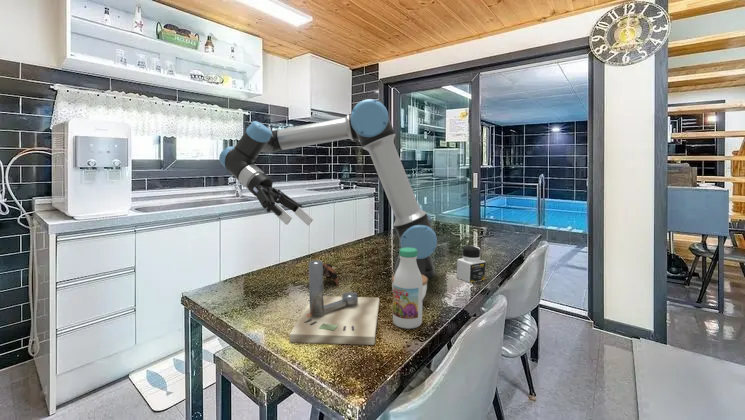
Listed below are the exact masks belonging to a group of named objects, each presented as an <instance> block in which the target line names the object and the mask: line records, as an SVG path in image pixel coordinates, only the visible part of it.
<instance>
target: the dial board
mask: <svg viewBox="0 0 745 420" xmlns="http://www.w3.org/2000/svg"><path fill="white" fill-rule="evenodd" d="M323 298H324V305H327V304H330V303H334V302H337V301H340V300H342V296H333V295H331V296H330V295H329V296H327V295H323ZM379 308H380V297H372V296H371V297H370V296H368V297H367V296H366V297H365V296H358V304H357V305H354V306H344V307H341V308H338V309H335V310H332V311H329V312H326V313H324V314H323V315H322V316H319V317H313V316H311V317H307V314H309V313H310V301H309V302H308V304H307V305H306V307H305V309H304V310H303V312H302V313H301V315H300V317H299V319H298V320H297V322H296V323H295V325H294V327H293V328H292V330H291V331H290V333H289V343H306V344H307V343H309V344H334V345H335V344H338V345H361V346H363V345H365V346H366V345H367V346H374V345H375V342H376V335H377V334H376V333H377V324H378V319H379Z"/></svg>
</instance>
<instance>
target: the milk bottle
mask: <svg viewBox="0 0 745 420" xmlns="http://www.w3.org/2000/svg"><path fill="white" fill-rule="evenodd" d="M398 252H399V253H398V256H399V255H400V256H399V257H400V263H399V266H398V268H397V270H396V273H395V272H394V274H393V275H394V281H393V289H392V322H393V324H394V325H395V326H396V327H399V328H401V329H408V330H409V329H411V330H412V329H416V328H419V327H420V326H421V325H422V324H423V300H424V298H423V283H422V276H421V273H420V271H419V268H418V266H417V262H416V258H417V249H415V248H409V247H406V248H401V249H400V248H399V251H398Z"/></svg>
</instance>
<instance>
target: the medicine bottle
mask: <svg viewBox="0 0 745 420" xmlns="http://www.w3.org/2000/svg"><path fill="white" fill-rule="evenodd" d="M456 263H457V264H456V278H458V279H459V280H461V279H462V281H464V282H466V283H468V282H469V284H472V282H473V283H478V282H482V280H483V281H485V278H486V276H485V275H486V261H485V260H484V259H483V260H482V259H481V248H480V247H479V246H477V245H465V246H463V248H462V258H457V262H456ZM477 281H478V282H477Z"/></svg>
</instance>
